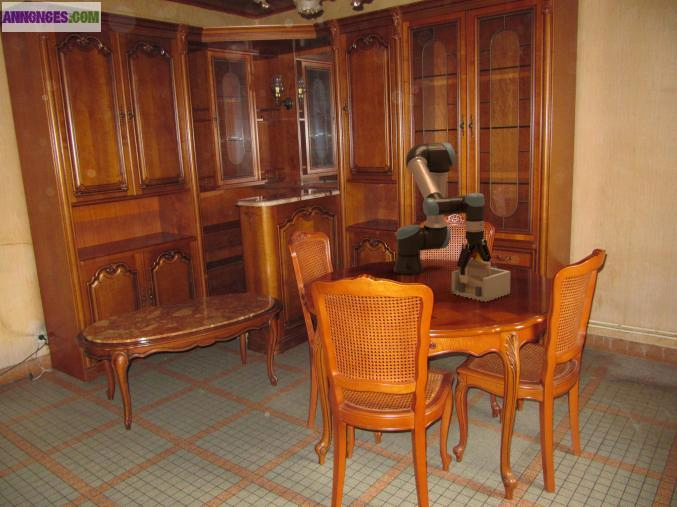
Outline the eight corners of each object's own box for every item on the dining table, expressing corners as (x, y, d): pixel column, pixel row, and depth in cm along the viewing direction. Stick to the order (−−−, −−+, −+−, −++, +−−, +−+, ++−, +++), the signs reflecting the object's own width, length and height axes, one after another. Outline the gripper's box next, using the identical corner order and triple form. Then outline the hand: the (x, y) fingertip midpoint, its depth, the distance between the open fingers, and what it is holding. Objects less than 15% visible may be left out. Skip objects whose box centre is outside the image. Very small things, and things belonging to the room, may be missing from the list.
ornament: (468, 275, 301) (458, 248, 303) (483, 270, 301) (473, 243, 303) (476, 272, 281) (465, 243, 282) (492, 267, 281) (482, 238, 282)
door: (463, 288, 255) (464, 257, 252) (490, 294, 244) (490, 262, 241) (456, 291, 252) (456, 259, 249) (482, 297, 241) (482, 264, 238)
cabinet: (476, 286, 264) (476, 264, 261) (509, 293, 250) (510, 271, 248) (451, 293, 253) (451, 271, 251) (485, 302, 239) (485, 278, 237)
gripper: (462, 235, 232) (462, 286, 237) (500, 227, 247) (499, 275, 252) (448, 233, 238) (448, 283, 242) (485, 225, 253) (485, 272, 258)
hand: (474, 279), depth 247 cm, fingers open, 13 cm apart
